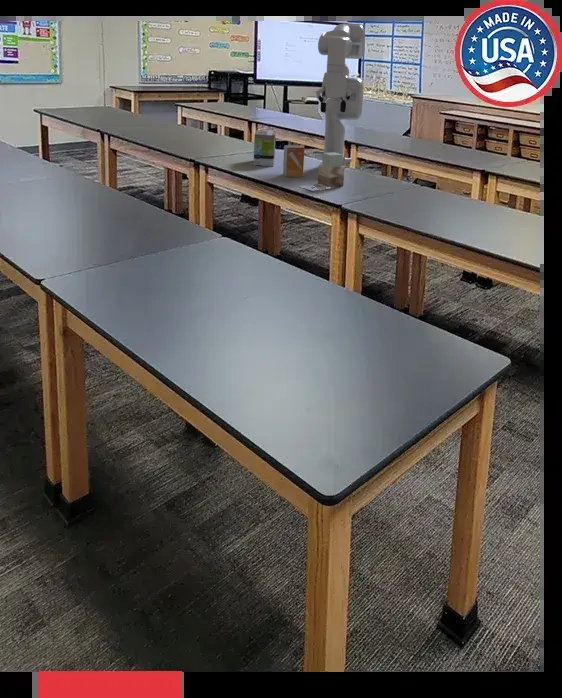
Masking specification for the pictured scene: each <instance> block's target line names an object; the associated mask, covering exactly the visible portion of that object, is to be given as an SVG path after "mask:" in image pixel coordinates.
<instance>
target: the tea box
mask: <svg viewBox="0 0 562 698" xmlns="http://www.w3.org/2000/svg"><path fill="white" fill-rule="evenodd" d="M276 133H277V132H276V131H275V130H258V129H257V130H255V133H254V137H253V138H254V140H253V166H256V165H262V166H261V167H274V163H275V155H276Z"/></svg>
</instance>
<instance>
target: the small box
mask: <svg viewBox="0 0 562 698" xmlns="http://www.w3.org/2000/svg"><path fill="white" fill-rule="evenodd" d="M282 164H283V167H282V174H283V176H285V177H286V178H291V177H292V178H303V177H304V164H305V147H304V146H303V145H301V144H298V145H297V144H294V145H293V144H291V145H290V144H288V145H287V144H286V145H284V146H283V163H282Z"/></svg>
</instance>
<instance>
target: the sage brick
mask: <svg viewBox="0 0 562 698" xmlns="http://www.w3.org/2000/svg"><path fill="white" fill-rule="evenodd" d="M321 163H322V165H324V166H327V167H329V168H330V167H341V166H342V154H339V153H336V152H331V153H324V152H323V153H322V162H321Z"/></svg>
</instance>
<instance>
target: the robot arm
mask: <svg viewBox="0 0 562 698" xmlns="http://www.w3.org/2000/svg"><path fill="white" fill-rule="evenodd" d="M365 33H366V32H365V29H364V27H363V25H362V24H353V23H340V24H337V25H336V26H335V27H334V28H333V30H329V31H325V32H322V33H321V34H320V36H319V38H318V42H317V43H318V44H317V49H318V51H317V52H318V53H319V54H320V55H322V56H327V59H326V60H327V61H326V72H324V73H323V74H324V75H323V79H322V84H321V88H320V89H317V90H316V91H315V93H316V98H317V100H318V101H319V102H320V113H323V114H324V118H325V125H324V126H325V127H324V128H325V129H324V146H323V153H331V152H336V153H339V154H342V166H343V167H345V168H346V167H347V166H346V165H347V164H346V163H351V162H352V161H353V160H352V158H351V157H345V156H344V150H345V138H346V137H345V136H346V135H345V134H346V129H345V125H344V124H343V122H342V121H341V120H348V121H357V120H359V119H360V118H361V116H362V111H363V99H364V83H363V80H362V79H361V78H359V77H357V78H356V77H350V69H349V67H348V65H347V64H346V59H348V60H350V59H352V60H359V59H362V58H363V57H364V55H365V48H366V46H365V45H366V34H365ZM321 164H322V162H320V163H319V165H321Z"/></svg>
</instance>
